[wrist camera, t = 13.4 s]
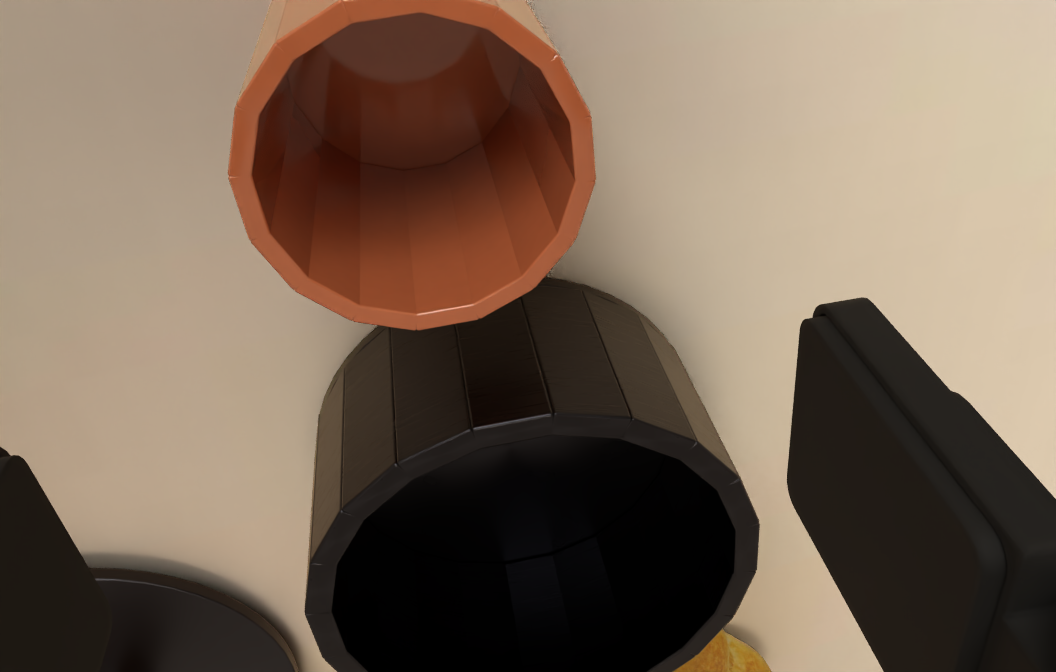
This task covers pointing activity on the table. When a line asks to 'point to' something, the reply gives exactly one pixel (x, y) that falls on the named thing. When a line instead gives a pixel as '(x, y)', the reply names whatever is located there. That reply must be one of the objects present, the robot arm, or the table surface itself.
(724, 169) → the table surface
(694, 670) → the bread roll
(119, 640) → the pan lid
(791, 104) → the table surface
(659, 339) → the pan
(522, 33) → the container
